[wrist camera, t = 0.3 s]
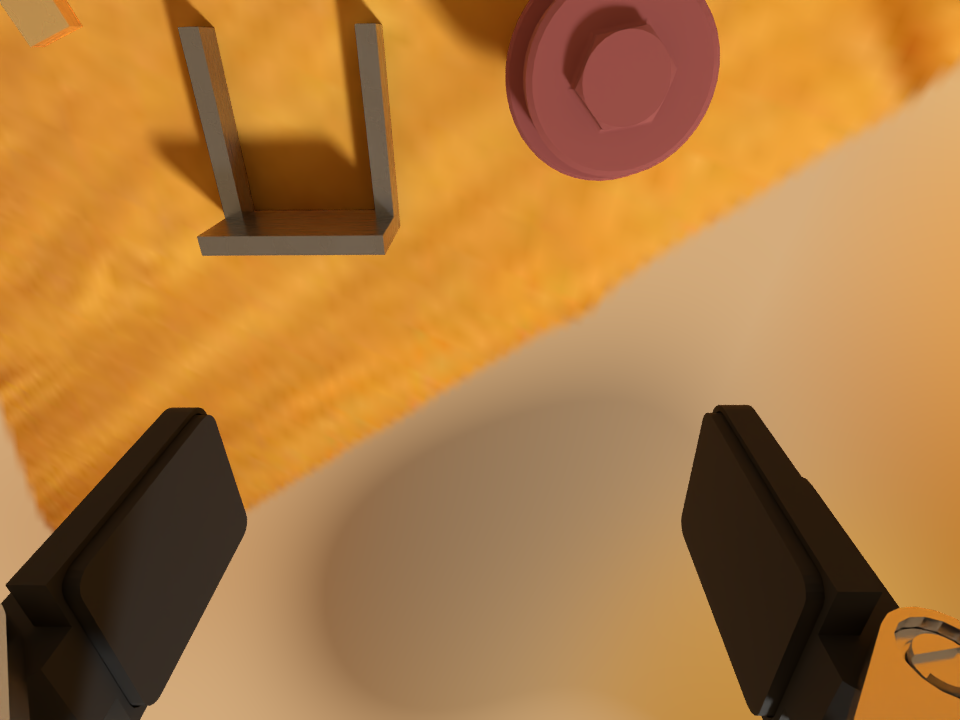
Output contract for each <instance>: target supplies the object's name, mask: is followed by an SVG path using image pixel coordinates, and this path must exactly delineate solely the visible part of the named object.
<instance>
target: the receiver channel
mask: <svg viewBox="0 0 960 720" xmlns="http://www.w3.org/2000/svg"><path fill="white" fill-rule="evenodd" d="M178 31H179V35H180V39H181V43H182V47H183V51H184V55H185V59H186V63H187V67H188V71H189V75H190V79H191V83H192V87H193V91H194V95H195V99H196V103H197V107H198V111H199V115H200V119H201V123H202V127H203V131H204V135H205V139H206V143H207V147H208V151H209V155H210V159H211V163H212V167H213V171H214V175H215V179H216V183H217V187H218V191H219V195H220V199H221V203H222V207H223V211H224V215H225V219H224V220H222V221H221V222H219V223H218V224H216V225H214V226H213V227H211V228H210V229H208V230H207V231H205V232H204V233H202V234H200V235H199V236H197V238H198V242H199V245H200V249H201V253H202V256H217V255H385V254H386V252H387V250H388V248H389V246H390V244H391V242H392V241H393V239H394V237H395V235H396V233H397V231H398V229H399V228H400V220H399V208H398V197H397V186H396V175H395V164H394V153H393V141H392V130H391V119H390V108H389V97H388V86H387V74H386V63H385V52H384V41H383V30H382V24H376V23H371V24H355V33H356V42H357V51H358V60H359V69H360V78H361V87H362V96H363V105H364V114H365V123H366V132H367V141H368V150H369V159H370V168H371V177H372V186H373V195H374V204H375V210H258V211H254V206H253V202H252V197H251V193H250V188H249V184H248V179H247V175H246V170H245V166H244V161H243V156H242V152H241V147H240V143H239V138H238V134H237V129H236V125H235V120H234V116H233V111H232V107H231V102H230V98H229V93H228V89H227V84H226V80H225V75H224V71H223V66H222V62H221V57H220V52H219V48H218V43H217V39H216V34H215V30H214V28H210V27H178Z"/></svg>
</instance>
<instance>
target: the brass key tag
mask: <svg viewBox="0 0 960 720" xmlns="http://www.w3.org/2000/svg"><path fill="white" fill-rule="evenodd" d="M0 3H1V5H2V6H3V8H4V9H5V11H6V12H7V14H8V15H9V17H10V18H11V19H12V21H13V22H14V24H15V25H16V27H17V28H18V30H19V31H20V33H21V34H22V35H23V37H24V38H25V40H26V41H27V43H28V44H29V46H30V47H45V46H47V45H49V44H51V43H53V42H55V41H56V40H58V39H60V38H62V37H64V36H66V35H68V34H70V33H72V32H73V31H75V30H77V29H79V28H81V27H83V26H82V24H81V23H80V21H79V20H78V18H77V16H76V15H75V13H74V12H73V10H72V9H71V7H70V5H69V4H68V2H67V1H66V0H0Z"/></svg>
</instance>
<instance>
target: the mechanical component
mask: <svg viewBox="0 0 960 720" xmlns="http://www.w3.org/2000/svg"><path fill="white" fill-rule="evenodd" d="M719 65H720V46H719V39H718V33H717V28H716V25H715V22H714V19H713V15H712V13H711V11H710V9H709V7H708V5H707V3H706V1H705V0H530V1H529V2H528V3H527V5H526V7H525V8H524V10H523V12H522V14H521V16H520V17H519V19H518V22H517V24H516V27H515V29H514V32H513V34H512V37H511V41H510V45H509V49H508V54H507V61H506V92H507V99H508V103H509V108H510V111H511V114H512V117H513V120H514V123H515V125H516V127H517V129H518V131H519V133H520V135H521V137H522V138H523V140H524V141H525V143H526V144H527V145H528V147H529V148H530V149H531V150H532V151H533V152H534V153H535V154H536V156H537V157H538V158H539V159H541V160H542V161H543V162H545V163H546V164H547V165H549V166H550V167H552V168H553V169H555V170H557V171H559V172H561V173H563V174H566V175H569V176H571V177H574V178H579V179H584V180H596V181H603V180H613V179H618V178H622V177H626V176H629V175H632V174H635V173H638V172H641V171H644V170H646V169H649V168H651V167H653V166H655V165H656V164H658V163H660V162H662V161H664V160H665V159H666V158H668V157H669V156H670V155H672V154H673V153H674V152H676V151H677V150H678V149H679V148H680V147H681V146H682V145H683V144H684V143H685V142H686V141H687V140H688V138H689V137H690V136H691V135H692V133H693V132H694V131H695V130H696V128H697V127H698V125H699V124H700V122H701V120H702V119H703V117H704V115H705V113H706V111H707V109H708V107H709V104H710V102H711V100H712V97H713V94H714V90H715V87H716V83H717V79H718V72H719Z"/></svg>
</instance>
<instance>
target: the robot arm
mask: <svg viewBox="0 0 960 720" xmlns="http://www.w3.org/2000/svg"><path fill="white" fill-rule="evenodd" d="M681 523H682V532H683V536H684V539H685V542H686V544H687V547H688V549H689V552H690V555H691V557H692V560H693V563H694V565H695V568H696V571H697V573H698V576H699V579H700V581H701V584H702V587H703V589H704V592H705V594H706V597H707V600H708V602H709V605H710V607H711V610H712V613H713V615H714V618H715V621H716V624H717V626H718V629H719V632H720V634H721V637H722V639H723V642H724V645H725V647H726V650H727V652H728V655H729V658H730V661H731V663H732V666H733V669H734V671H735V674H736V676H737V679H738V682H739V684H740V687H741V690H742V692H743V695H744V698H745V700H746V703H747V705H748V707H749V709H750V711H751V712H752V713H753V714H754V715H757V716H758V715H760V716H762V718H763V720H960V621H959V620H957V619H955V618H953V617H951V616H948V615H945V614H943V613H940V612H937V611H935V610H930V609H925V608H919V607H904V608H899V606H898V605H897V603H896V602H895V601H894V599H893V598H892V596H891V595H890V594H889V592H888V591H887V589H886V588H885V587H884V585H883V584H882V582H881V581H880V580H879V578H878V577H877V575H876V574H875V573H874V571H873V570H872V569H871V567H870V566H869V564H868V563H867V561H866V560H865V559H864V557H863V556H862V555H861V553H860V552H859V550H858V549H857V548H856V546H855V545H854V543H853V542H852V540H851V539H850V538H849V536H848V535H847V533H846V532H845V531H844V529H843V528H842V526H841V525H840V524H839V522H838V521H837V519H836V518H835V517H834V515H833V514H832V512H831V511H830V510H829V508H828V507H827V505H826V504H825V503H824V501H823V500H822V498H821V497H820V496H819V494H818V493H817V492H816V490H815V489H814V488H813V486H812V485H811V484H810V483H809V482H808V480H807V479H805V478H803V477H801V475H800V474H799V472H798V471H797V470H796V468H795V467H794V465H793V464H792V462H791V461H790V460H789V458H788V457H787V455H786V454H785V453H784V451H783V450H782V448H781V447H780V445H779V444H778V443H777V441H776V440H775V438H774V437H773V436H772V434H771V433H770V431H769V430H768V428H767V427H766V426H765V424H764V423H763V421H762V420H761V418H760V417H759V416H758V414H757V413H756V412H755V410H754V409H753V408H752V407H751V406H749V405H718V406H716V407H715V408H714V410H713V413H706V414H705V415H704V418H703V421H702V425H701V430H700V435H699V439H698V444H697V449H696V453H695V458H694V462H693V467H692V472H691V476H690V481H689V485H688V490H687V494H686V499H685V503H684V508H683V513H682V519H681ZM246 526H247V516H246V512H245V509H244V506H243V503H242V500H241V497H240V494H239V491H238V488H237V485H236V482H235V479H234V476H233V473H232V470H231V467H230V464H229V461H228V458H227V454H226V451H225V448H224V445H223V442H222V439H221V436H220V433H219V430H218V427H217V424H216V421H215V419H214V418H213V417H212V416H211V415H207V414H206V412H205V411H204V410H203V409H202V408H168V409H167V410H165V411H164V412H163V413H162V414H161V415H160V416H159V418H158V419H157V420H156V421H155V422H154V423H153V424H152V425H151V426H150V427H149V428H148V430H147V431H146V432H145V433H144V434H143V435H142V436H141V437H140V438H139V439H138V441H137V442H136V443H135V444H134V445H133V446H132V447H131V448H130V449H129V450H128V451H127V453H126V454H125V455H124V456H123V457H122V458H121V459H120V460H119V461H118V462H117V463H116V465H115V466H114V467H113V468H112V469H111V470H110V471H109V472H108V473H107V474H106V476H105V477H104V478H103V479H102V480H101V481H100V482H99V483H98V484H97V485H96V486H95V488H94V489H93V490H92V491H91V492H90V493H89V494H88V495H87V496H86V497H85V498H84V500H83V501H82V502H81V503H80V504H79V505H78V506H77V507H76V508H75V509H74V511H73V512H72V513H71V514H70V515H69V516H68V517H67V518H66V519H65V520H64V521H63V523H62V524H61V525H60V526H59V527H58V528H57V529H56V530H55V531H54V532H53V533H52V535H51V536H50V537H49V538H48V539H47V540H46V541H45V542H44V544H43V545H42V546H41V547H40V548H39V549H38V550H37V551H36V552H35V553H34V554H33V555H32V557H31V558H30V559H29V560H28V561H27V562H26V563H25V564H24V565H23V566H22V567H21V569H20V570H19V571H18V572H17V573H16V574H15V575H14V576H13V577H12V578H11V579H10V581H9V582H8V583H7V584H6V587H7V588H8V590H9V591H10V592H11V593H10V594H9V595H8V597H7V598H6V599H5V600H4V601H3V602H2V603H1V604H0V720H140V719H141V717H142V715H143V713H144V711H145V709H146V707H147V705H149V706H150V705H152V704H154V703H155V702H156V701H157V700H158V698H159V697H160V695H161V693H162V691H163V689H164V688H165V686H166V684H167V682H168V680H169V678H170V676H171V674H172V672H173V670H174V669H175V666H176V665H177V663H178V661H179V659H180V657H181V655H182V653H183V651H184V649H185V647H186V645H187V643H188V642H189V640H190V638H191V636H192V634H193V632H194V630H195V628H196V626H197V624H198V622H199V620H200V618H201V617H202V615H203V613H204V611H205V609H206V607H207V605H208V603H209V601H210V599H211V597H212V595H213V594H214V592H215V590H216V588H217V586H218V584H219V582H220V580H221V578H222V576H223V574H224V572H225V570H226V568H227V567H228V565H229V563H230V561H231V559H232V557H233V555H234V553H235V551H236V549H237V547H238V545H239V544H240V542H241V540H242V538H243V536H244V533H245V531H246Z"/></svg>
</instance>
